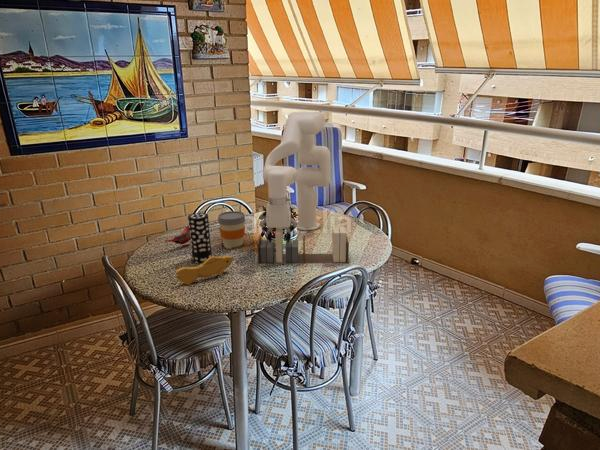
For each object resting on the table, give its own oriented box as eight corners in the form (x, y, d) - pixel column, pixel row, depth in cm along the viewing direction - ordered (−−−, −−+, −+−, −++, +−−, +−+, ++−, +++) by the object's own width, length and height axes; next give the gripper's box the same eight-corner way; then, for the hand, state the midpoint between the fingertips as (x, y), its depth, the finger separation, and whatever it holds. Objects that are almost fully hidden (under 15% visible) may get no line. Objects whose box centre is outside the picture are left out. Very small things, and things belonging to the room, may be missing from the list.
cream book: (277, 254, 178) (276, 227, 174) (283, 254, 178) (282, 226, 174) (276, 262, 171) (275, 233, 166) (282, 262, 171) (281, 233, 166)
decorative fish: (233, 267, 166) (226, 246, 162) (236, 270, 164) (229, 249, 159) (182, 291, 159) (173, 270, 154) (184, 294, 156) (175, 273, 152)
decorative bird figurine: (198, 242, 197) (196, 223, 194) (167, 254, 185) (164, 233, 181) (195, 241, 199) (193, 221, 196) (163, 252, 186) (161, 232, 183)
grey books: (262, 255, 179) (261, 240, 176) (298, 254, 178) (298, 239, 176) (260, 262, 171) (259, 247, 169) (298, 262, 170) (297, 247, 168)
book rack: (260, 256, 180) (259, 235, 177) (346, 255, 178) (347, 234, 175) (257, 265, 170) (256, 243, 167) (348, 265, 169) (349, 243, 165)
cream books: (332, 254, 177) (332, 226, 173) (344, 254, 177) (344, 226, 173) (333, 262, 170) (333, 233, 165) (345, 262, 169) (346, 233, 165)
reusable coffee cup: (229, 238, 201) (227, 209, 196) (251, 242, 196) (250, 212, 191) (214, 248, 190) (212, 217, 185) (237, 252, 185) (235, 220, 180)
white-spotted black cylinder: (215, 257, 180) (211, 214, 173) (204, 264, 173) (200, 220, 166) (200, 254, 184) (196, 212, 177) (188, 261, 176) (183, 217, 170)
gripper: (299, 197, 169) (300, 237, 175) (257, 198, 170) (259, 238, 176) (299, 202, 162) (299, 244, 168) (255, 203, 163) (257, 244, 169)
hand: (279, 241), depth 172 cm, fingers open, 6 cm apart
